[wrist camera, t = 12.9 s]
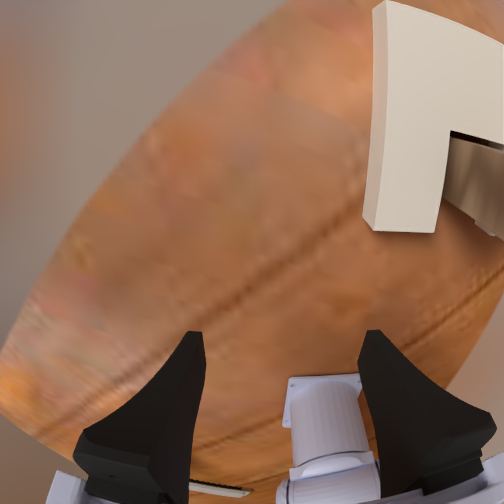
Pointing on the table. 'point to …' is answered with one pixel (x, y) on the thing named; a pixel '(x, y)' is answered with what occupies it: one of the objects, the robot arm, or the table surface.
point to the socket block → (425, 110)
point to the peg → (476, 182)
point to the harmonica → (218, 489)
